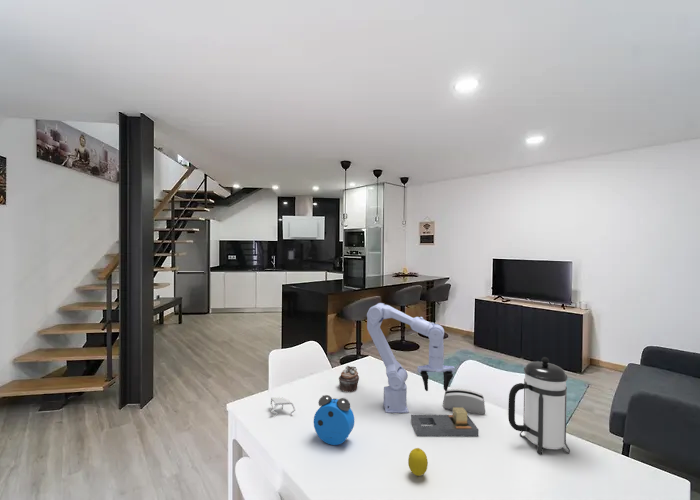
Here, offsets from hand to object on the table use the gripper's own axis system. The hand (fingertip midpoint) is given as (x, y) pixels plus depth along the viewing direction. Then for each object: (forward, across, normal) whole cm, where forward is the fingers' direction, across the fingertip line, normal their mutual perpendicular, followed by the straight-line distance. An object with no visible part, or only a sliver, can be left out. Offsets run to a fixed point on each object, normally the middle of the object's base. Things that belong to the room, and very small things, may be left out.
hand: (435, 390), depth 128 cm
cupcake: (+10, -34, +25) cm, 44 cm away
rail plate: (+10, 0, -9) cm, 14 cm away
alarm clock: (+10, -40, -17) cm, 45 cm away
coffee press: (+11, +31, -19) cm, 38 cm away
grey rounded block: (+11, +13, +5) cm, 18 cm away
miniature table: (+10, -61, +2) cm, 62 cm away
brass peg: (+10, +6, -9) cm, 15 cm away
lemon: (+11, -15, -34) cm, 39 cm away
